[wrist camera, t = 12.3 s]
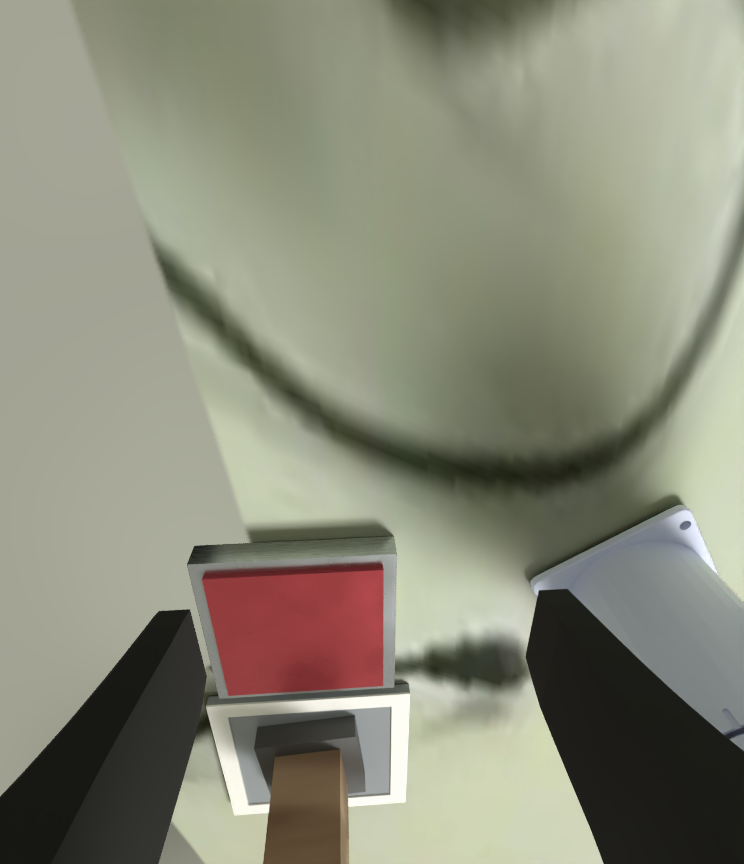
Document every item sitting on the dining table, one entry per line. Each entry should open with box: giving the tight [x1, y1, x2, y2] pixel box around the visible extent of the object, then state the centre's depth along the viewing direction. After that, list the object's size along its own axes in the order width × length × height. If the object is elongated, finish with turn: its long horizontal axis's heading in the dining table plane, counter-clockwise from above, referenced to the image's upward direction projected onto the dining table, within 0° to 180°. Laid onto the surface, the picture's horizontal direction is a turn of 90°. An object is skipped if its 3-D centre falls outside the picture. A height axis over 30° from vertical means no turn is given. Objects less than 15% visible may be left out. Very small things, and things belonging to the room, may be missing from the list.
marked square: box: [206, 684, 410, 815], centre depth 29 cm, size 11×11×1 cm
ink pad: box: [187, 536, 397, 699], centre depth 23 cm, size 9×9×2 cm
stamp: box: [254, 715, 366, 864], centre depth 26 cm, size 6×6×6 cm
